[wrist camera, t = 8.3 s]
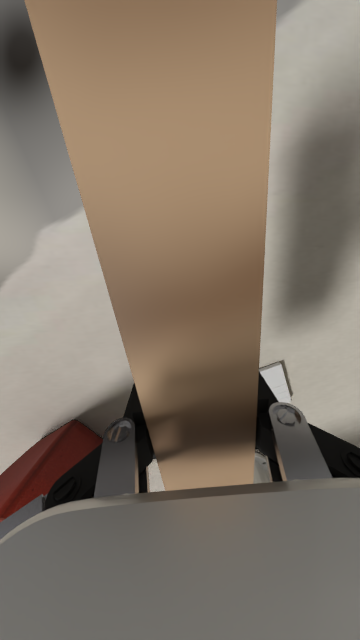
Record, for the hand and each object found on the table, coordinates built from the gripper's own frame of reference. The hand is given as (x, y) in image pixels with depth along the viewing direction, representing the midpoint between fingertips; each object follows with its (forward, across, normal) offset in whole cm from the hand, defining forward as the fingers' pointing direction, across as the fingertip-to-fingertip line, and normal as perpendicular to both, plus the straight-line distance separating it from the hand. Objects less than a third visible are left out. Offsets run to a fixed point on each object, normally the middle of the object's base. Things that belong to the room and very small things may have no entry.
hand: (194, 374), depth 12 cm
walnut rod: (+1, 0, 0) cm, 1 cm away
